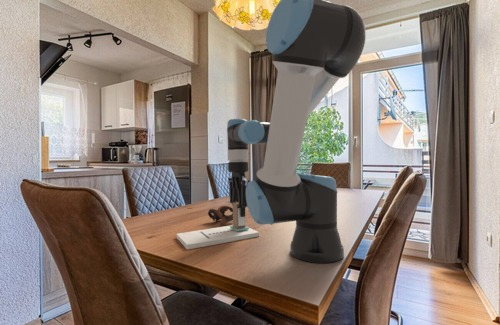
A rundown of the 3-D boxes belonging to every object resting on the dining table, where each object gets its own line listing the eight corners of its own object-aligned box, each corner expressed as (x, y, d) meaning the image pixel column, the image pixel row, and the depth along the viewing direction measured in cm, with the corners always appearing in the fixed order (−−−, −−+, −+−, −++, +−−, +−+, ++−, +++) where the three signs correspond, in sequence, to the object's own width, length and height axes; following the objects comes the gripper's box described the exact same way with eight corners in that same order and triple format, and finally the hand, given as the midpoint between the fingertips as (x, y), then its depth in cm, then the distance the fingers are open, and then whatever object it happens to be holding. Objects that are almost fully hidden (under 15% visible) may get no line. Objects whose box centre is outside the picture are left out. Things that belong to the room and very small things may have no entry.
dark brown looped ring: (233, 220, 122) (237, 206, 119) (231, 234, 114) (235, 220, 110) (207, 214, 121) (211, 200, 118) (203, 228, 113) (206, 213, 109)
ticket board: (259, 236, 95) (258, 231, 95) (187, 249, 83) (187, 244, 83) (241, 227, 107) (241, 223, 107) (176, 237, 95) (176, 233, 95)
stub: (249, 229, 98) (248, 203, 97) (236, 231, 95) (236, 204, 95) (241, 225, 103) (241, 201, 103) (229, 227, 100) (229, 202, 100)
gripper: (257, 161, 93) (259, 227, 93) (237, 160, 108) (238, 218, 108) (238, 161, 89) (239, 230, 90) (220, 161, 104) (221, 220, 105)
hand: (239, 223), depth 99 cm, fingers closed on stub, 3 cm apart
